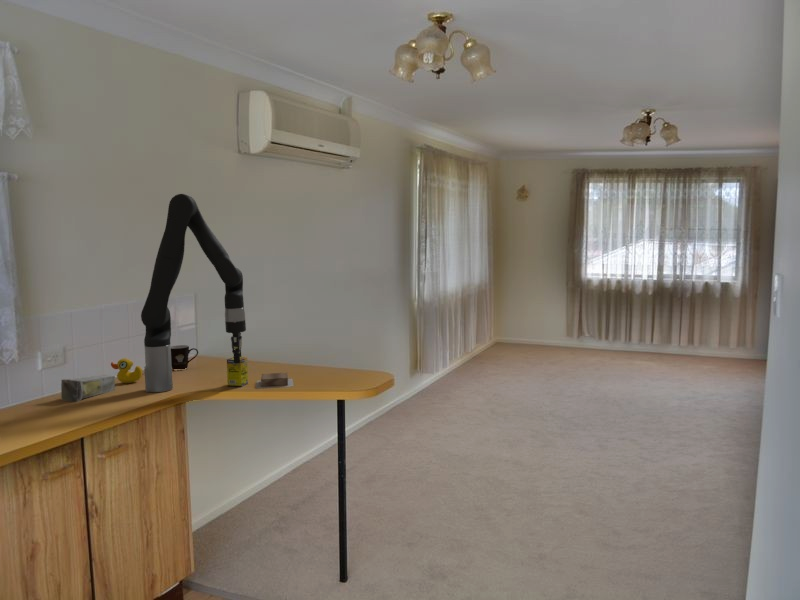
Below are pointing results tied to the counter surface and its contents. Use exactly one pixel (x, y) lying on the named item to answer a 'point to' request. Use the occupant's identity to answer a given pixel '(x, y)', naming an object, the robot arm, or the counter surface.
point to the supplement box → (237, 372)
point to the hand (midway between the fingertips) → (237, 361)
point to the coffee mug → (180, 356)
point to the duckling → (124, 373)
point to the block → (86, 387)
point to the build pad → (258, 385)
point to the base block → (274, 379)
